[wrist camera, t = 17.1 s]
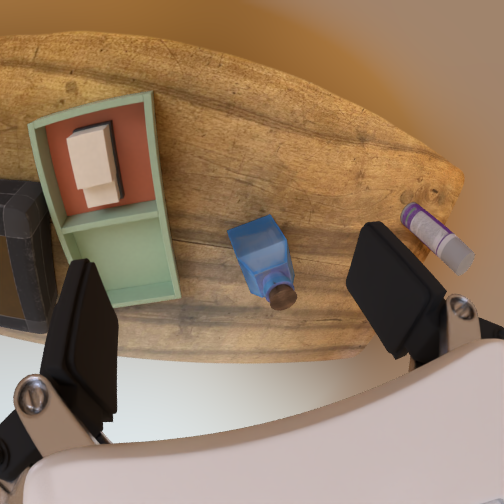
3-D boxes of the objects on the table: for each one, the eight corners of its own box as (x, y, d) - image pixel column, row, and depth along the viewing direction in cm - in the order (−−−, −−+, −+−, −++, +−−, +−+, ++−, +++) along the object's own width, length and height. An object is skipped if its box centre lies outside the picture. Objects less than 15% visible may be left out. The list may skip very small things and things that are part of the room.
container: (421, 211, 47) (476, 259, 36) (405, 229, 48) (458, 280, 37) (413, 197, 44) (473, 246, 33) (396, 215, 46) (454, 269, 34)
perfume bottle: (239, 263, 43) (263, 326, 33) (226, 230, 39) (250, 292, 29) (279, 248, 43) (312, 306, 34) (270, 214, 39) (306, 270, 30)
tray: (93, 293, 39) (90, 311, 36) (40, 117, 23) (27, 124, 20) (179, 280, 42) (181, 298, 39) (153, 90, 26) (151, 92, 23)
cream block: (75, 128, 25) (63, 137, 22) (112, 119, 26) (104, 126, 23) (90, 200, 30) (83, 217, 27) (124, 194, 31) (120, 210, 28)
